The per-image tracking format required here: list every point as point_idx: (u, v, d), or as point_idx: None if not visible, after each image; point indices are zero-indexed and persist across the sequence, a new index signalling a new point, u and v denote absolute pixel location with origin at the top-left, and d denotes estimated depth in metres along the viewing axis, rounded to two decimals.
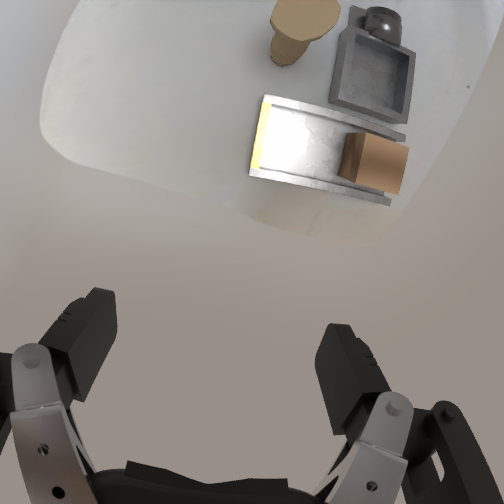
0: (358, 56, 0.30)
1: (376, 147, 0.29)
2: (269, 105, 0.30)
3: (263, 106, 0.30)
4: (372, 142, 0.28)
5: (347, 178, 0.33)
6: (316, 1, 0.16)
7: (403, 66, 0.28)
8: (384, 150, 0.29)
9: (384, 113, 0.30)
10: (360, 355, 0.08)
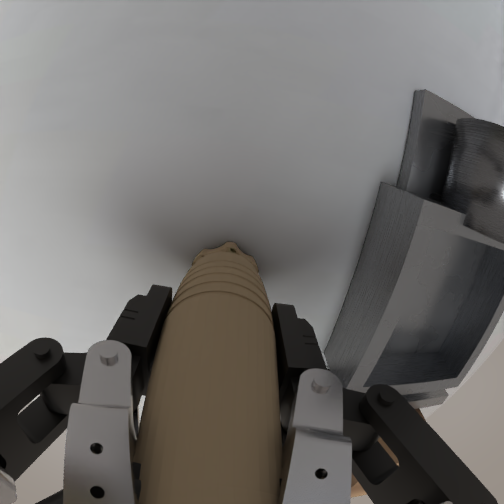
0: None
1: None
2: None
3: None
4: None
5: None
6: None
7: (496, 268, 0.13)
8: None
9: (426, 390, 0.14)
10: (296, 333, 0.09)
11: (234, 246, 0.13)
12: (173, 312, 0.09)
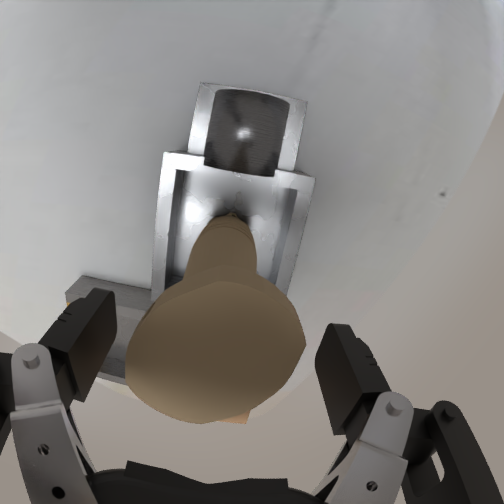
0: (204, 195, 0.21)
1: None
2: None
3: None
4: None
5: None
6: (234, 336, 0.08)
7: (289, 206, 0.20)
8: None
9: None
10: (360, 355, 0.08)
11: (234, 213, 0.21)
12: (199, 237, 0.16)
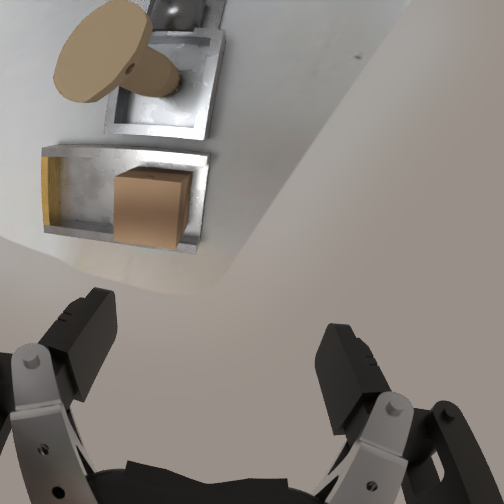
0: None
1: (131, 192, 0.23)
2: (46, 159, 0.24)
3: (42, 161, 0.24)
4: (124, 187, 0.22)
5: None
6: (111, 24, 0.10)
7: None
8: (142, 194, 0.23)
9: (165, 134, 0.24)
10: (360, 355, 0.08)
11: None
12: None
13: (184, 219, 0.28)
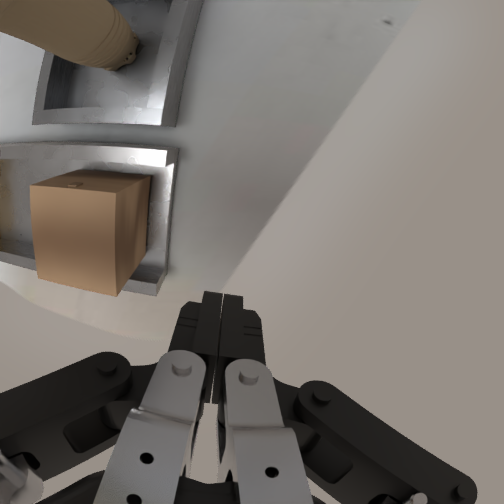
0: None
1: (50, 209, 0.13)
2: None
3: None
4: (42, 201, 0.13)
5: None
6: None
7: None
8: (64, 212, 0.13)
9: (106, 120, 0.14)
10: (237, 323, 0.09)
11: None
12: None
13: (137, 246, 0.18)
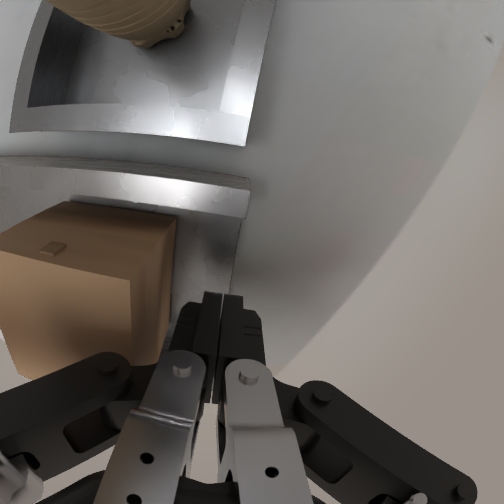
0: None
1: (15, 289, 0.07)
2: None
3: None
4: (2, 274, 0.07)
5: None
6: None
7: None
8: (38, 298, 0.07)
9: (138, 128, 0.08)
10: (237, 323, 0.09)
11: None
12: None
13: (160, 326, 0.12)
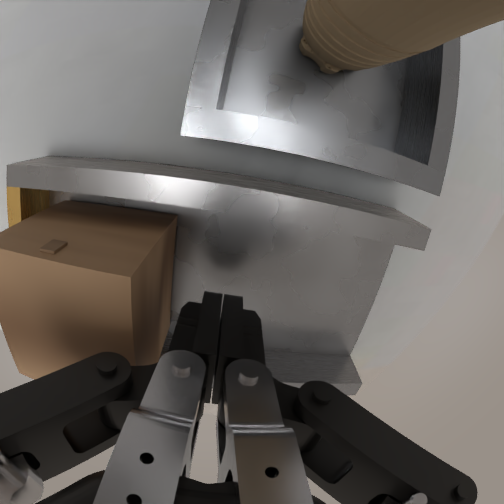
0: None
1: (16, 287, 0.07)
2: (17, 193, 0.09)
3: (8, 198, 0.09)
4: (3, 273, 0.07)
5: None
6: None
7: None
8: (39, 296, 0.07)
9: (367, 167, 0.09)
10: (237, 323, 0.09)
11: None
12: None
13: (161, 325, 0.12)
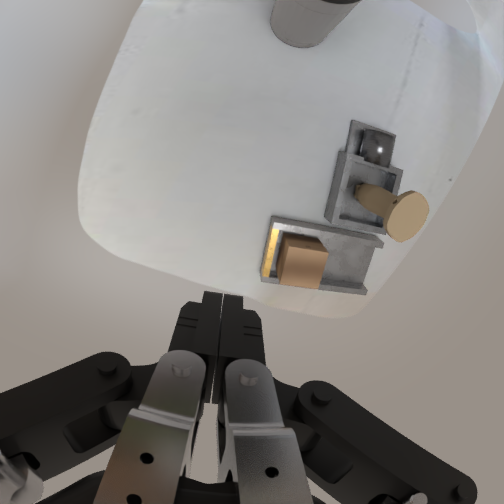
0: (353, 174, 0.43)
1: (298, 256, 0.41)
2: (277, 231, 0.43)
3: (272, 232, 0.43)
4: (294, 253, 0.40)
5: (277, 274, 0.45)
6: (416, 207, 0.29)
7: (390, 181, 0.42)
8: (305, 258, 0.41)
9: (367, 230, 0.43)
10: (237, 323, 0.09)
11: (367, 183, 0.42)
12: (371, 190, 0.37)
13: None
